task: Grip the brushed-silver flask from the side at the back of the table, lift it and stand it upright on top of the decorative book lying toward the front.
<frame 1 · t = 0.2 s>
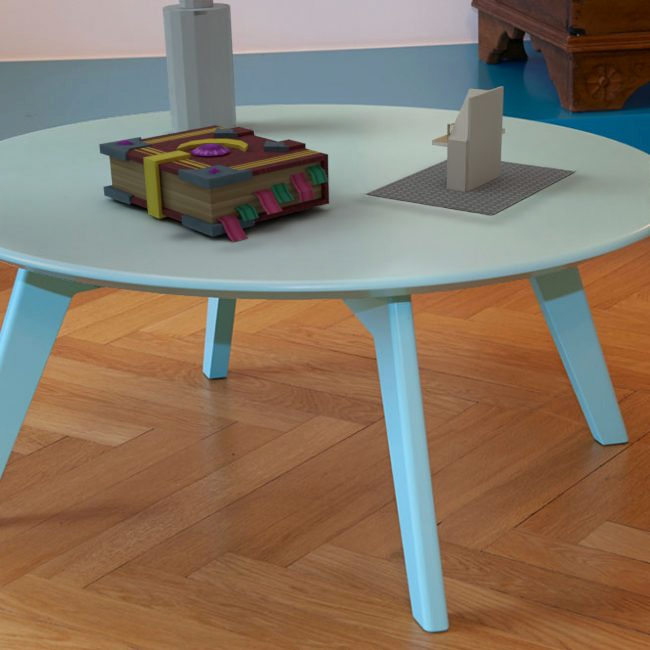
architectural model: (473, 184, 93), on the table
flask: (204, 129, 114), on the table
decorative book: (220, 208, 88), on the table
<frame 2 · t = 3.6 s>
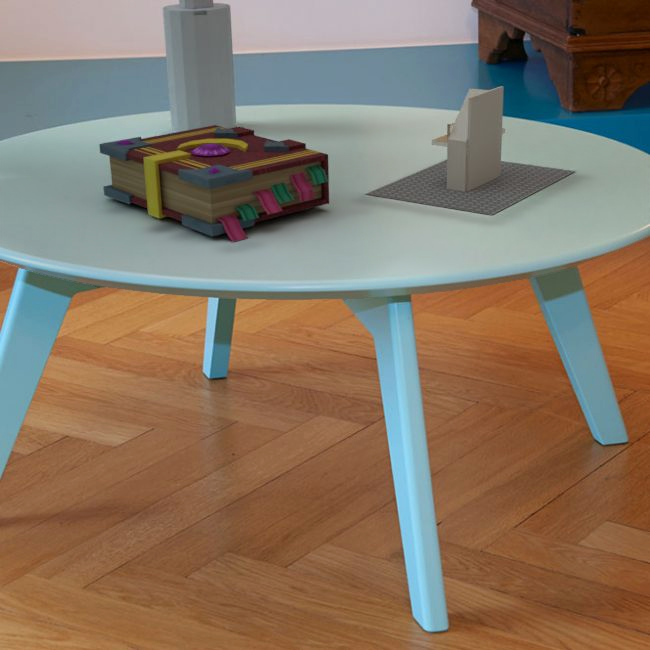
nothing on the table moved.
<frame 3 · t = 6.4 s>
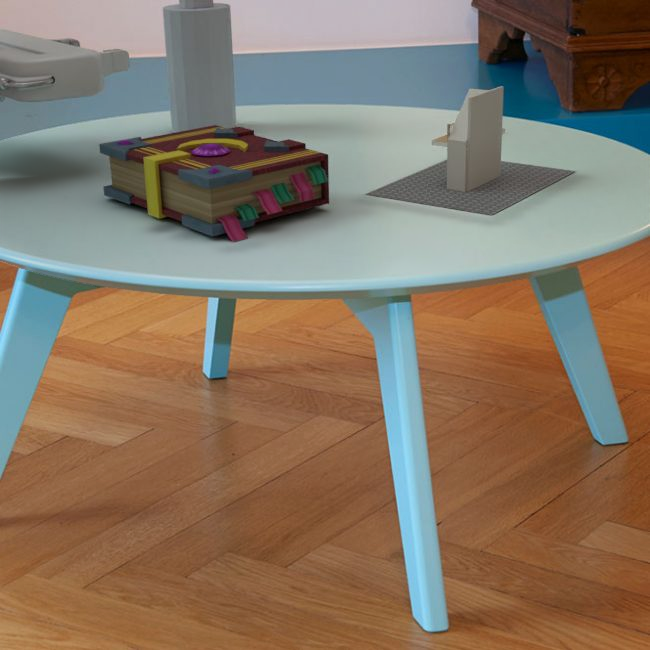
hand: (100, 53, 105), 9 cm above the table, tool horizontal, fingers open, 8 cm apart
nothing on the table moved.
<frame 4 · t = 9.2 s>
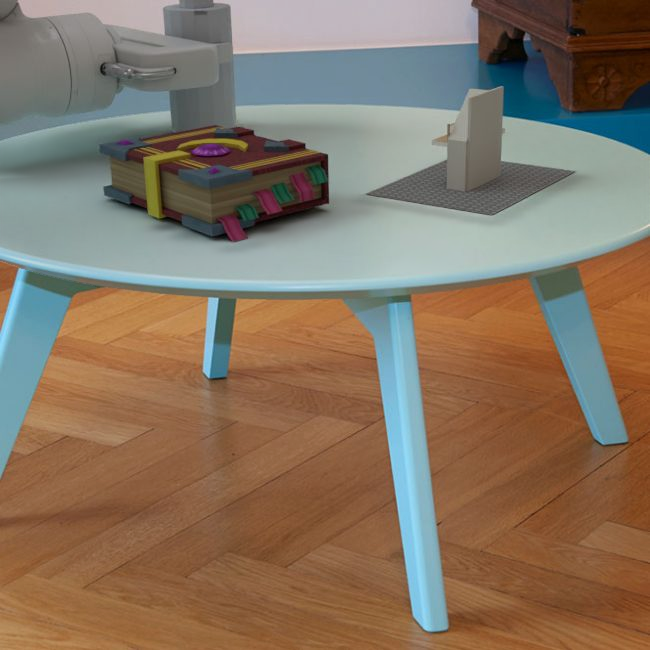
hand: (206, 47, 111), 8 cm above the table, tool horizontal, fingers closed on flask, 6 cm apart
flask: (204, 129, 114), on the table, touching gripper
everything else where it was.
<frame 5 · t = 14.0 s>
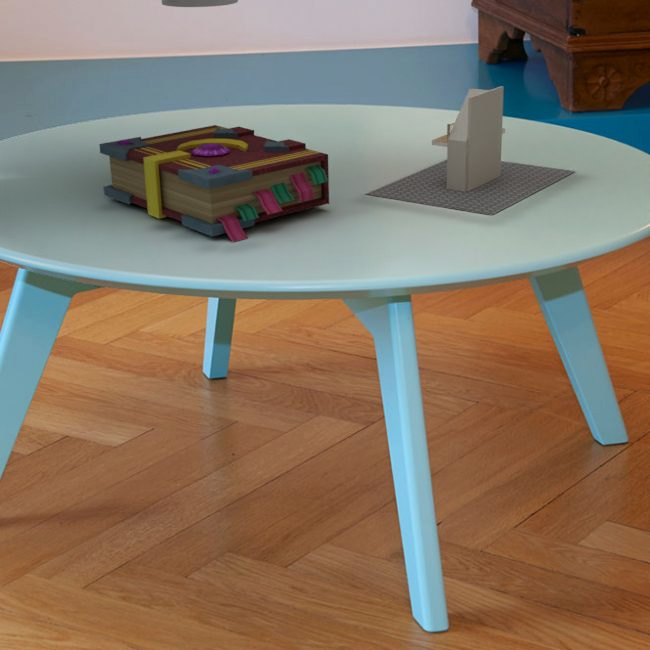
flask: (200, 2, 96), point 14 cm above the table, touching gripper
everything else where it was.
when the fingers open (13 cm above the table, at t = 18.7 s): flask stays where it is, resting on decorative book.
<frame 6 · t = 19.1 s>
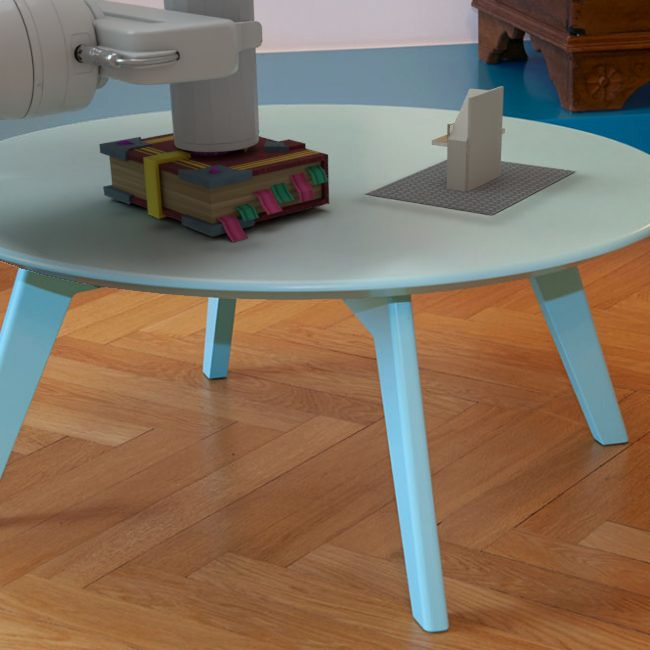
hand: (220, 26, 83), 13 cm above the table, tool horizontal, fingers open, 8 cm apart
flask: (216, 142, 86), point 5 cm above the table, touching decorative book
decorative book: (220, 208, 88), on the table, touching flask
everything else where it was.
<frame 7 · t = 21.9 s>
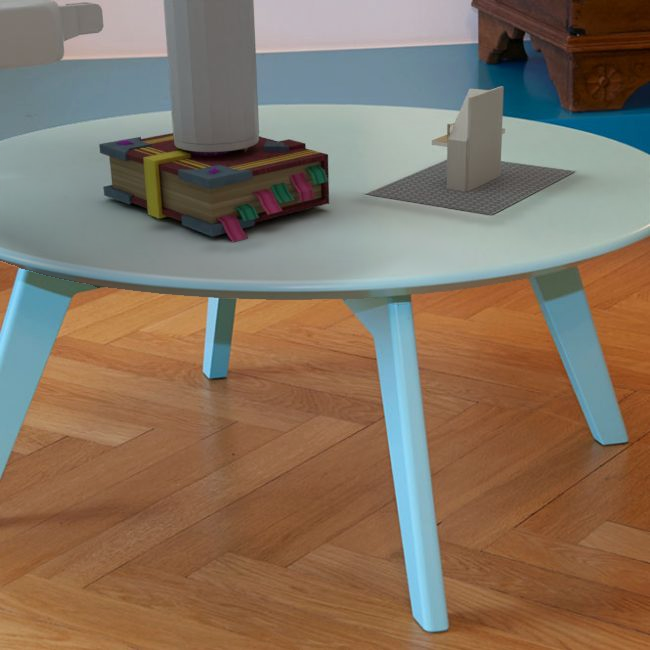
hand: (64, 10, 76), 16 cm above the table, tool horizontal, fingers open, 8 cm apart
nothing on the table moved.
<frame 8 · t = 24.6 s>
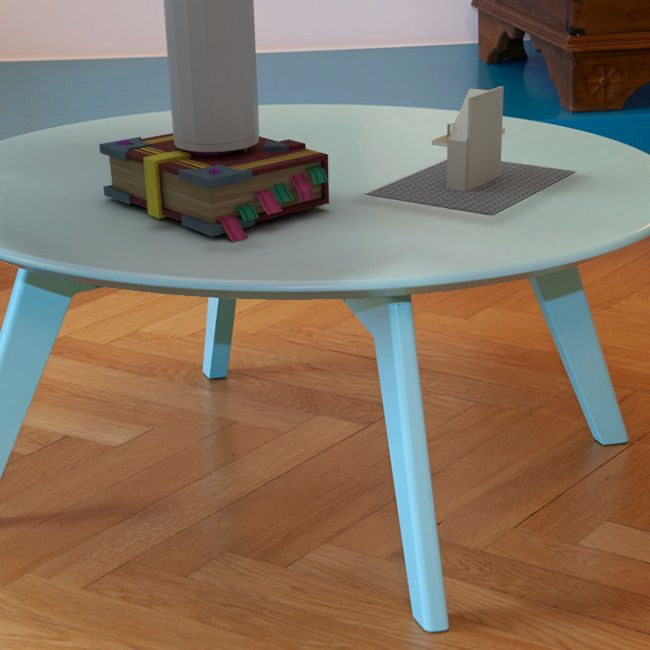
nothing on the table moved.
at the end: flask inside the target area on the decorative book (0.0 cm from its centre), point 5.2 cm above the decorative book's base; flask tilted 0°; the gripper is holding nothing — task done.
